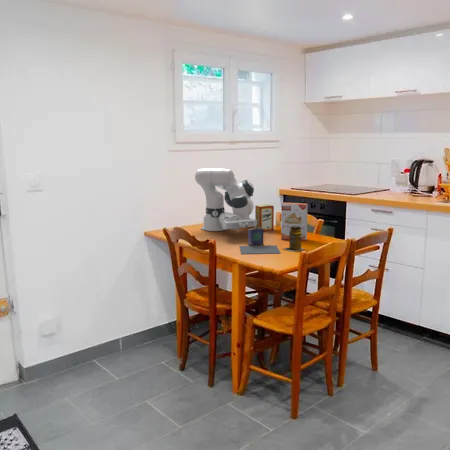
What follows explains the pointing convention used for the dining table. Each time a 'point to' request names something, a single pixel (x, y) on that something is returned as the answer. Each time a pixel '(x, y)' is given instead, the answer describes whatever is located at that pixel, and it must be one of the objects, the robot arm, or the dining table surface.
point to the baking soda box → (265, 217)
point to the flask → (255, 236)
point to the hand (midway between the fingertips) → (246, 225)
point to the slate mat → (260, 249)
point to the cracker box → (293, 219)
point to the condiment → (295, 239)
